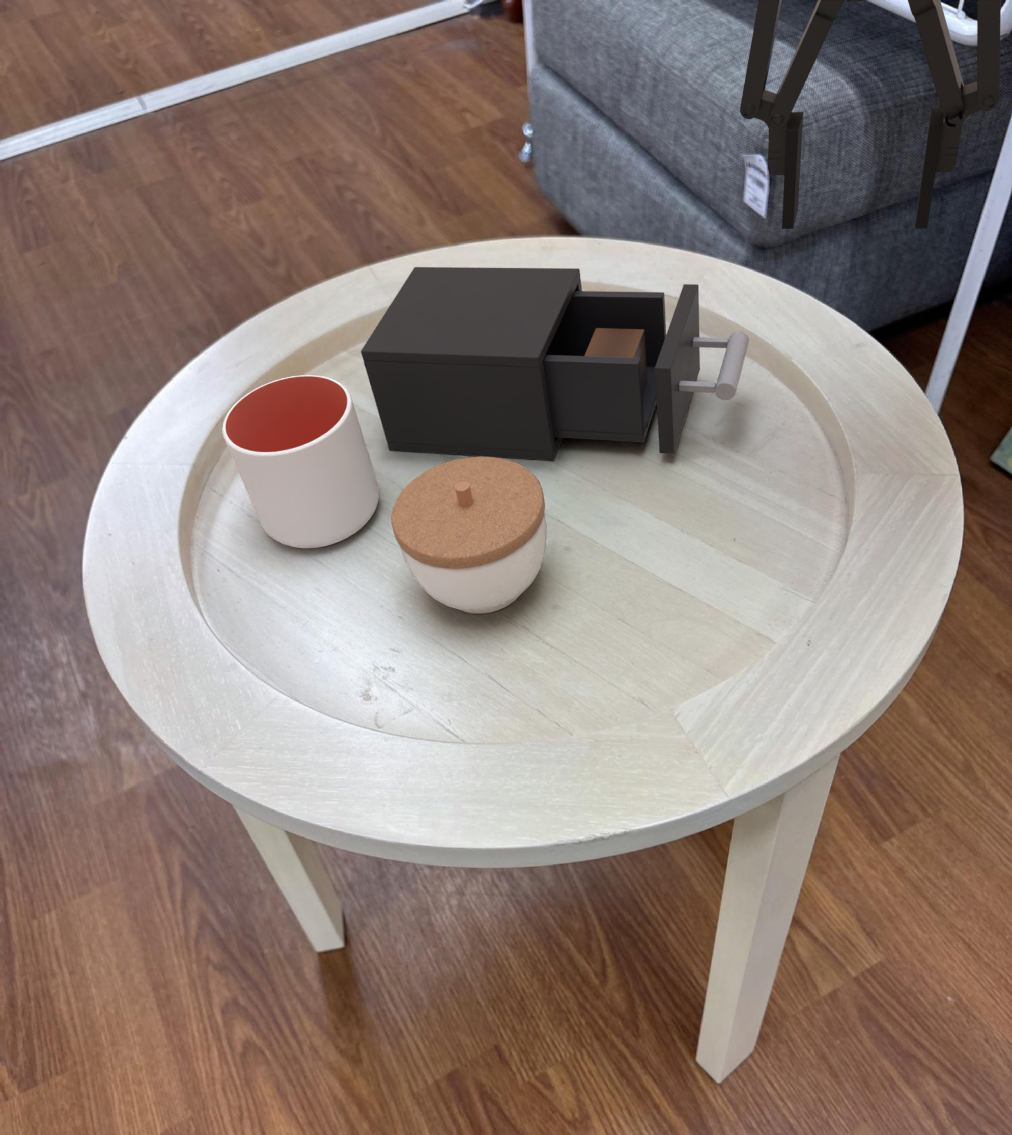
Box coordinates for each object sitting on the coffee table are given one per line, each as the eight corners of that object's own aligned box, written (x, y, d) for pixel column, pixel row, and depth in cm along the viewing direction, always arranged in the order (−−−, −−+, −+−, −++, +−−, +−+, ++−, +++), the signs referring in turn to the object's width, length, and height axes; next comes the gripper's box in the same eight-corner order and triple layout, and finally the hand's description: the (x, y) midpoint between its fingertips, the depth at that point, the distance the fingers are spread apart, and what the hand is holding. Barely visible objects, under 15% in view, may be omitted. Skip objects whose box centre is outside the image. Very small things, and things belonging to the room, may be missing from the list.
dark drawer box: (590, 370, 95) (579, 267, 88) (553, 461, 87) (538, 357, 80) (436, 364, 99) (414, 266, 92) (389, 450, 92) (360, 351, 85)
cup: (377, 548, 84) (343, 445, 76) (255, 562, 85) (210, 462, 77) (387, 468, 90) (357, 366, 83) (274, 482, 91) (234, 382, 84)
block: (647, 382, 89) (644, 328, 85) (637, 411, 87) (633, 357, 83) (601, 380, 90) (595, 327, 86) (589, 408, 88) (583, 355, 84)
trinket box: (586, 572, 78) (573, 471, 71) (484, 660, 74) (459, 562, 67) (485, 517, 84) (464, 418, 77) (385, 595, 80) (353, 499, 73)
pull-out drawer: (752, 371, 90) (754, 284, 84) (730, 458, 83) (731, 370, 77) (547, 363, 95) (536, 281, 89) (511, 444, 88) (496, 361, 82)
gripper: (1116, -254, 54) (1021, 189, 71) (707, -204, 60) (710, 193, 77) (1125, -216, 50) (1022, 247, 67) (682, -166, 56) (691, 246, 73)
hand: (854, 218), depth 72 cm, fingers open, 8 cm apart
